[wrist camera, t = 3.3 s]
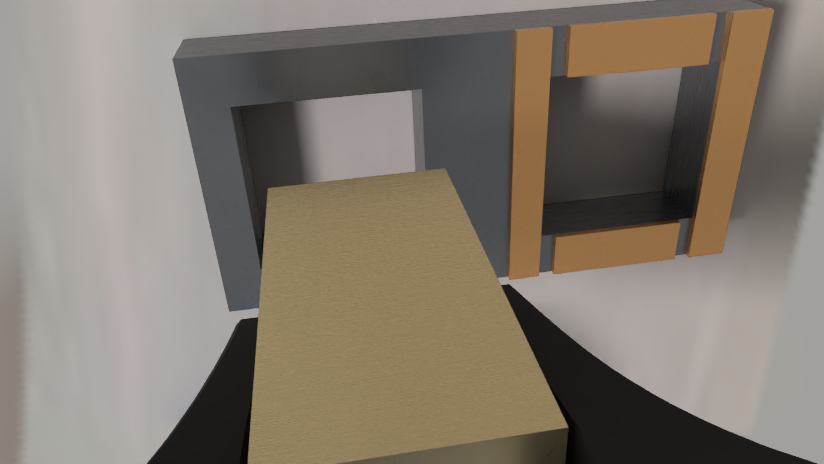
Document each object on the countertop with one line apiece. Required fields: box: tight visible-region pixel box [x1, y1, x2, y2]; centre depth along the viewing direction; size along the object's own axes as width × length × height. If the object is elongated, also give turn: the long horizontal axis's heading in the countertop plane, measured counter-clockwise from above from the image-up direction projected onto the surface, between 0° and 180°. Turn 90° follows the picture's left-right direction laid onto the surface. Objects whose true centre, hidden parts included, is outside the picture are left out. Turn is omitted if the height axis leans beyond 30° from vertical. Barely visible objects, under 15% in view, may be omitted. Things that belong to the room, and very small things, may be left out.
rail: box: [173, 0, 774, 312], centre depth 21 cm, size 8×16×2 cm, turn 93°
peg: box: [248, 168, 568, 464], centre depth 13 cm, size 4×4×8 cm
